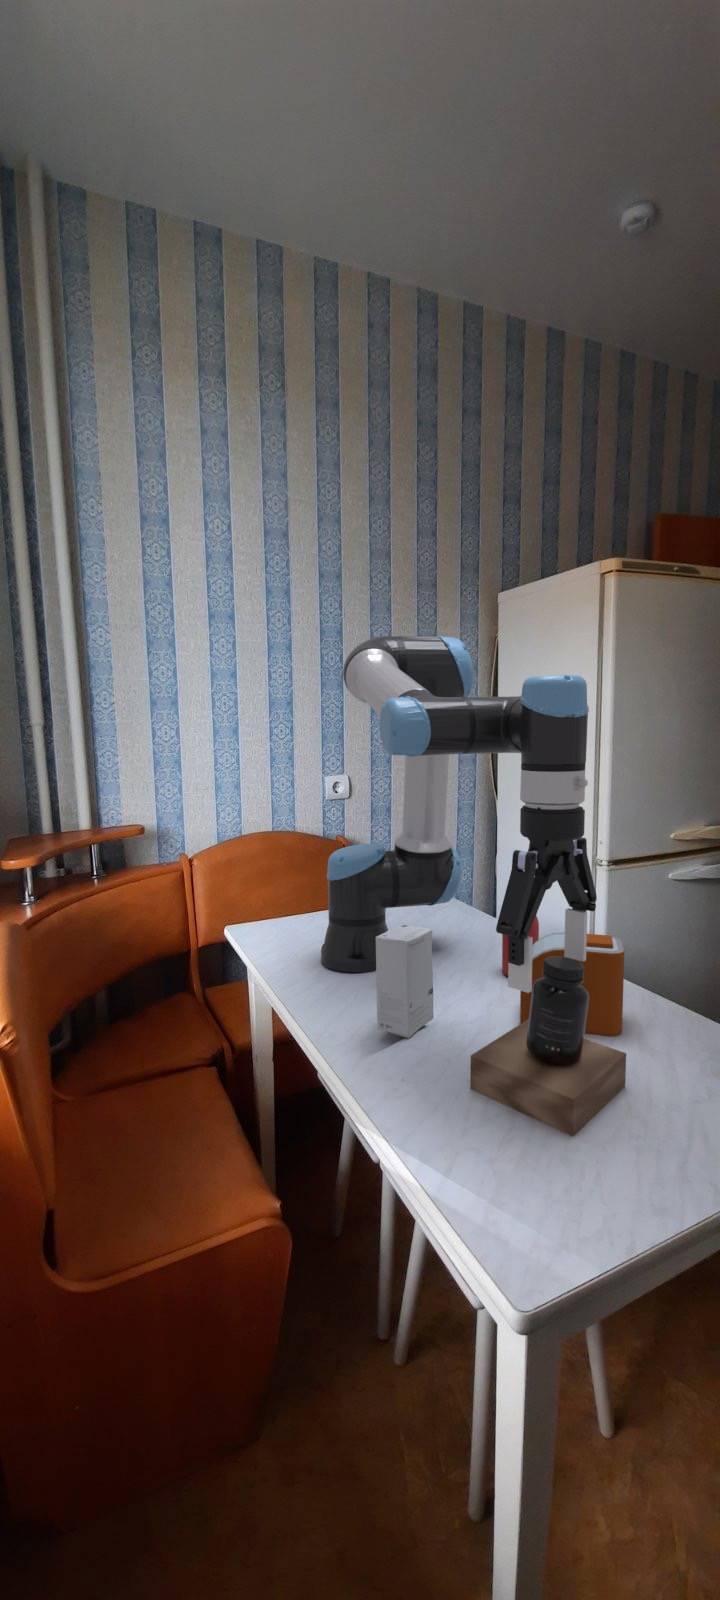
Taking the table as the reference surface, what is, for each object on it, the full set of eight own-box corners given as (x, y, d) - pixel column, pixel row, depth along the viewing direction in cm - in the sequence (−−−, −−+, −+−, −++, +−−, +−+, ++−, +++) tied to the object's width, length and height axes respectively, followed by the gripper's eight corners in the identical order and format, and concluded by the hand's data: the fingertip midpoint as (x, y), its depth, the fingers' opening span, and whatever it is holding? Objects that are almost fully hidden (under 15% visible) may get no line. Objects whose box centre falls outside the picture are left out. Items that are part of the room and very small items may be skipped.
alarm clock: (618, 1013, 103) (621, 931, 102) (623, 1038, 95) (625, 949, 94) (523, 1003, 108) (524, 924, 106) (519, 1025, 100) (520, 940, 98)
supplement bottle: (528, 1034, 86) (539, 948, 84) (581, 1047, 84) (594, 959, 82) (522, 1058, 80) (534, 966, 78) (579, 1073, 77) (593, 978, 76)
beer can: (535, 967, 123) (535, 906, 122) (541, 980, 117) (542, 916, 115) (500, 966, 124) (500, 905, 123) (504, 980, 117) (504, 916, 116)
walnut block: (470, 1092, 83) (470, 1055, 82) (527, 1052, 92) (528, 1019, 92) (573, 1140, 73) (574, 1099, 72) (624, 1090, 83) (626, 1053, 82)
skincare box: (409, 1039, 96) (408, 942, 94) (374, 1029, 99) (373, 936, 97) (435, 1018, 103) (434, 927, 101) (402, 1009, 106) (401, 921, 104)
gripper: (524, 819, 67) (522, 1014, 70) (626, 797, 84) (621, 954, 87) (465, 813, 72) (465, 994, 75) (572, 793, 90) (569, 941, 92)
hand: (549, 973), depth 81 cm, fingers open, 13 cm apart
